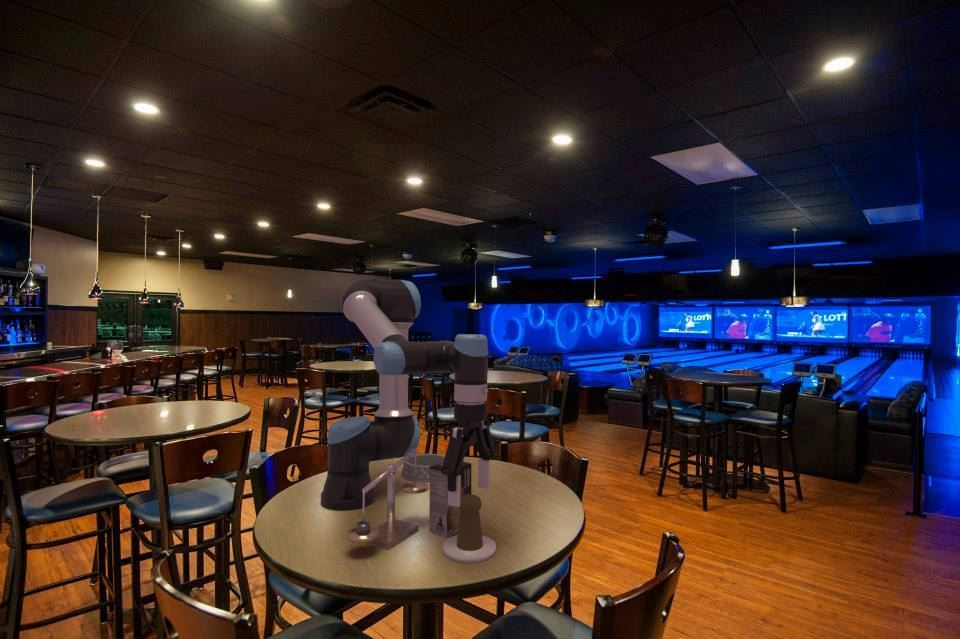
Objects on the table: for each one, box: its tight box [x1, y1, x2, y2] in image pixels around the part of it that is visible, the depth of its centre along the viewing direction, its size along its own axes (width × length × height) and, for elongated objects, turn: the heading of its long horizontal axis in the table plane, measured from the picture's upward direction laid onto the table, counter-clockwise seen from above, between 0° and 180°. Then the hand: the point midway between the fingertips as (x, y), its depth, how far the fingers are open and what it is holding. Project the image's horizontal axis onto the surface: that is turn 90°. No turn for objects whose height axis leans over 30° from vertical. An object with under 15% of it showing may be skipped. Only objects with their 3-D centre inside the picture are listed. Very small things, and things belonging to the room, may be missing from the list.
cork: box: [456, 493, 483, 551], centre depth 112 cm, size 6×6×11 cm
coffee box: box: [428, 461, 472, 538], centre depth 124 cm, size 9×6×16 cm
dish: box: [442, 534, 497, 564], centre depth 112 cm, size 12×12×1 cm
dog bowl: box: [400, 453, 445, 484], centre depth 169 cm, size 17×18×5 cm
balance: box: [346, 449, 430, 551], centre depth 119 cm, size 8×26×19 cm, turn 151°
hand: (469, 496), depth 112 cm, fingers open, 13 cm apart
